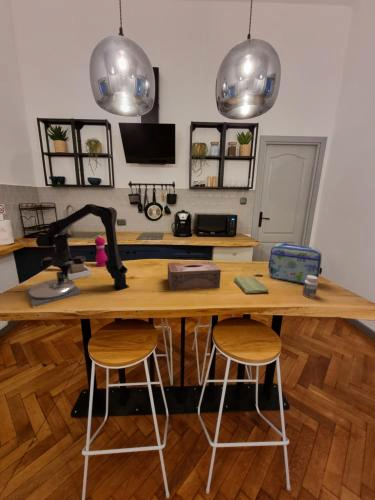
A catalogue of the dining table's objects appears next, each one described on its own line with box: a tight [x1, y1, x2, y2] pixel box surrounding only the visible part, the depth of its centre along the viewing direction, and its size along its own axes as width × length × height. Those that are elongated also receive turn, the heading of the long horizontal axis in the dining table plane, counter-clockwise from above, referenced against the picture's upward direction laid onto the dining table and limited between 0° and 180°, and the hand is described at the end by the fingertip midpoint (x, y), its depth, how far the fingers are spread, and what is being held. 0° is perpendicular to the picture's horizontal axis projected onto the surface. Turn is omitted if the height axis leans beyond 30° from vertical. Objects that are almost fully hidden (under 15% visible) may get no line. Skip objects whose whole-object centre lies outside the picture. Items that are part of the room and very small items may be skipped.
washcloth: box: [233, 276, 269, 294], centre depth 112 cm, size 13×18×3 cm
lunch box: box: [267, 242, 322, 285], centre depth 120 cm, size 26×11×21 cm, turn 57°
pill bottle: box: [302, 275, 319, 299], centre depth 103 cm, size 6×6×10 cm
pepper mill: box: [94, 235, 108, 268], centre depth 136 cm, size 7×7×20 cm
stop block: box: [70, 263, 85, 274], centre depth 121 cm, size 6×6×6 cm
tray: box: [64, 264, 93, 281], centre depth 122 cm, size 12×12×3 cm
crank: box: [29, 270, 76, 299], centre depth 99 cm, size 18×18×6 cm
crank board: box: [25, 279, 83, 307], centre depth 100 cm, size 19×19×1 cm
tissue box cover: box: [167, 260, 222, 291], centre depth 114 cm, size 26×14×10 cm, turn 101°
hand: (66, 276), depth 107 cm, fingers closed
